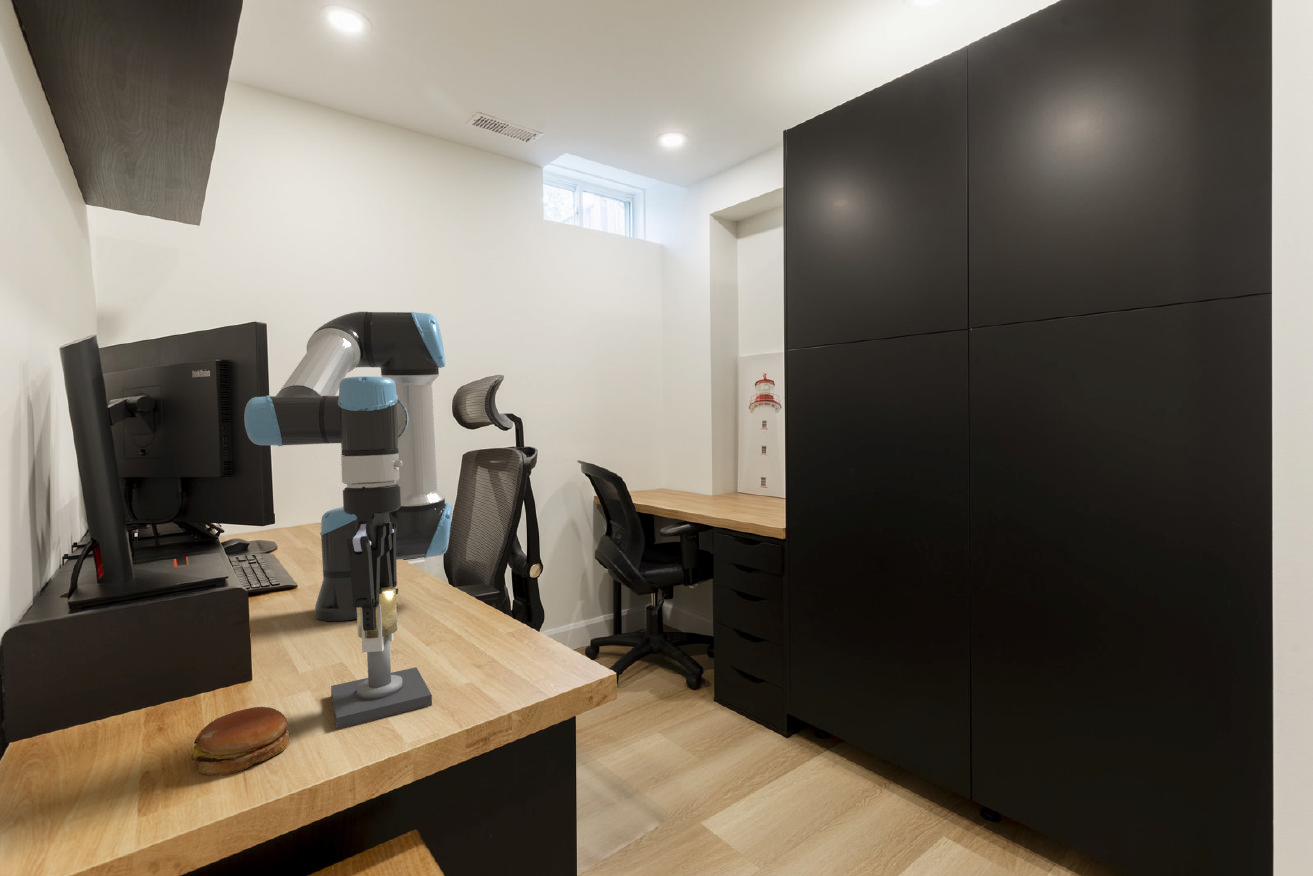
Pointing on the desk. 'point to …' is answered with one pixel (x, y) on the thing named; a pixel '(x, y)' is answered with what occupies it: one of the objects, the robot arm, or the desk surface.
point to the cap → (382, 614)
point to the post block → (379, 692)
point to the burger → (240, 740)
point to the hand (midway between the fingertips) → (378, 645)
